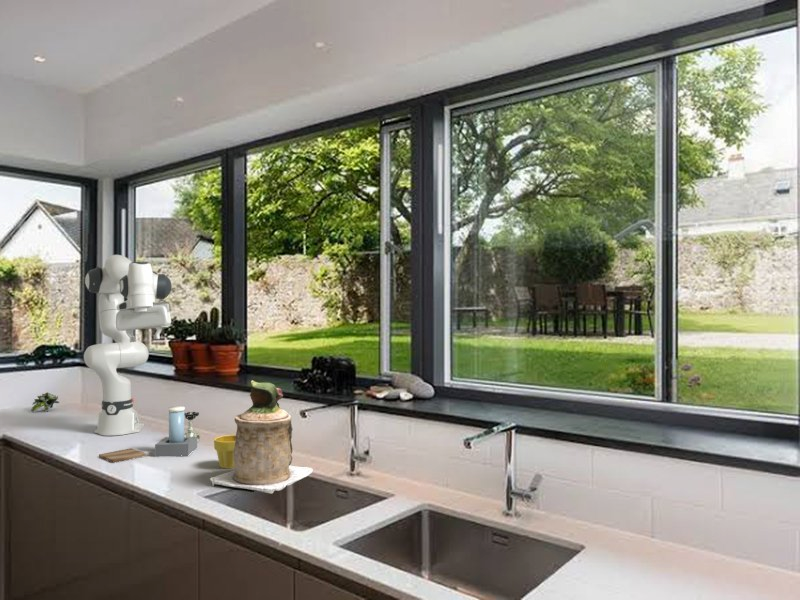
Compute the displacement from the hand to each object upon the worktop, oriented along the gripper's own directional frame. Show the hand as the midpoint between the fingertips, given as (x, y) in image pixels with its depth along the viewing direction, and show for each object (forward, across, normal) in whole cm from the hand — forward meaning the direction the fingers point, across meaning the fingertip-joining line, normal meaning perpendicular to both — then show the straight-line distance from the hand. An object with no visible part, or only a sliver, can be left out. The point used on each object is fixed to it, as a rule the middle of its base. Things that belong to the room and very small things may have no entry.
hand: (144, 340), depth 222 cm
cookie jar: (+51, -48, +18) cm, 72 cm away
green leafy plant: (+22, +103, -80) cm, 132 cm away
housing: (+43, -4, -10) cm, 44 cm away
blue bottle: (+43, -4, -10) cm, 44 cm away
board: (+42, +12, -2) cm, 43 cm away
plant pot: (+48, -31, +5) cm, 57 cm away
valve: (+41, -2, -25) cm, 48 cm away
